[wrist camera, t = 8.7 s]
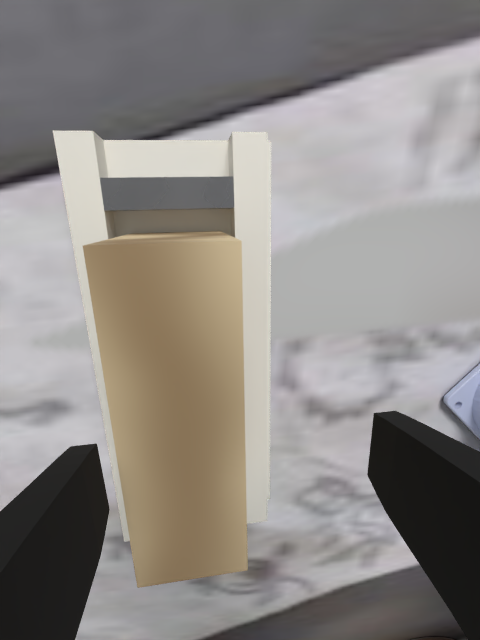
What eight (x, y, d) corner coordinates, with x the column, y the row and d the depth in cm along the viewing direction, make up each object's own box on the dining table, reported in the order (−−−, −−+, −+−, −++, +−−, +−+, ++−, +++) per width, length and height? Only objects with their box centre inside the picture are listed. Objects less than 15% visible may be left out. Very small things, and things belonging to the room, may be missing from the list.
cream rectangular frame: (264, 480, 22) (275, 519, 19) (125, 498, 21) (114, 543, 18) (264, 147, 16) (279, 132, 13) (67, 147, 15) (38, 130, 12)
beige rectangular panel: (220, 231, 15) (241, 240, 9) (228, 446, 19) (247, 570, 12) (128, 233, 15) (76, 245, 8) (154, 454, 18) (133, 588, 12)
